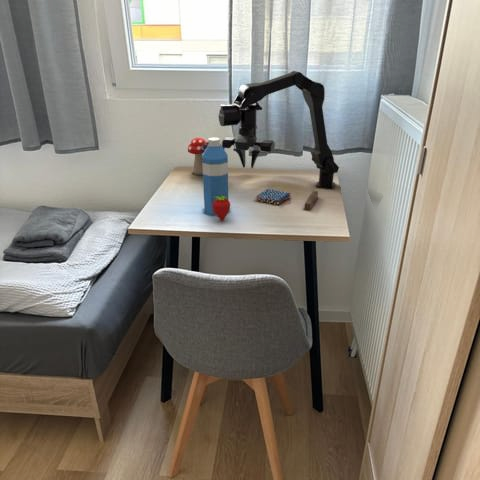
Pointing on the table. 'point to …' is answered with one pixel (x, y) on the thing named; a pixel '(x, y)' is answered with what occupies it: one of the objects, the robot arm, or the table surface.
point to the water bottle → (214, 173)
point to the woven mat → (273, 196)
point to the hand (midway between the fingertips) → (248, 167)
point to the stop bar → (311, 200)
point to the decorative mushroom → (197, 154)
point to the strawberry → (221, 207)
